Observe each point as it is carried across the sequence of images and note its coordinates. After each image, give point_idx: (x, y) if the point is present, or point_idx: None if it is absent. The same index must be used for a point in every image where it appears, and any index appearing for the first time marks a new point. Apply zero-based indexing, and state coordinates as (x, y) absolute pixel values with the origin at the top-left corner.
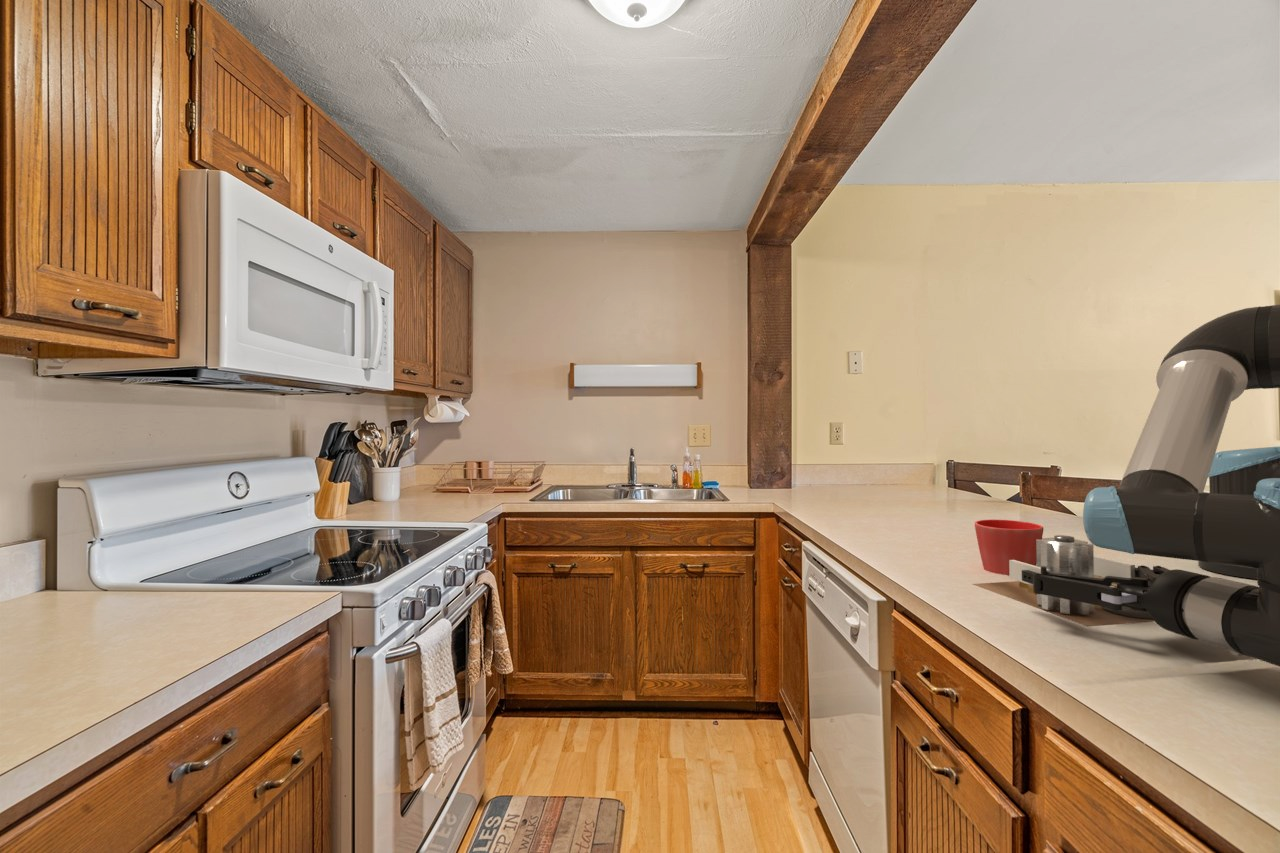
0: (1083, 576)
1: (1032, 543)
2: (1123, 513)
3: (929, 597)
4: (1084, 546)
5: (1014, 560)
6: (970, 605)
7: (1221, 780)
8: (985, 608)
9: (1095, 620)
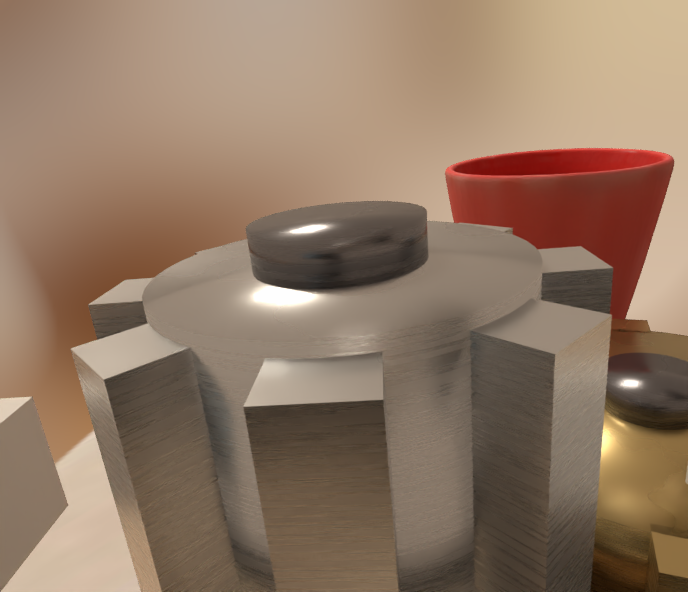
0: None
1: (597, 229)
2: None
3: (92, 443)
4: (327, 392)
5: (10, 407)
6: (109, 526)
7: None
8: (116, 567)
9: None
